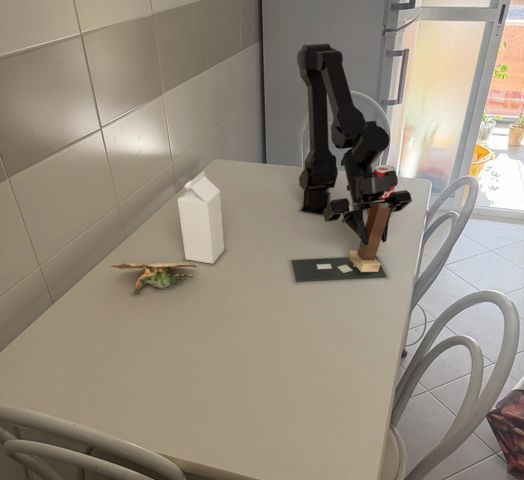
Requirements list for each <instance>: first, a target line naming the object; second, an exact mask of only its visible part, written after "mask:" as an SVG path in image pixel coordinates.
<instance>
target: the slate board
mask: <svg viewBox="0 0 524 480" xmlns="http://www.w3.org/2000/svg"><path fill="white" fill-rule="evenodd" d="M375 259H376V260H377V261H378V262H379V263H380V264H381V262H380V261H379V259H378V257H377V255H376V257H375ZM291 264H292V268H293V272H294V276H295V282H296V283H299V282H300V283H301V282H318V281H320V282H321V281H339V280H342V281H343V280H360V279H379V278H381V279H382V278H387V274H386V273H385V270H384V269H383V266H382V264H381V265H380V268H379V271H378V272H361V271H360V270H359V269H358V268H357V267H356V266H355V265H354V264H353V263H352V262H351V261H350V259H349V256H348V257H345V256H344V257H327V258H325V257H324V258H308V259H307V258H306V259H305V258H304V259H303V258H302V259H292V260H291Z"/></svg>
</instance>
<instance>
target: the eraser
mask: <svg viewBox="0 0 524 480" xmlns="http://www.w3.org/2000/svg"><path fill="white" fill-rule="evenodd" d="M390 210H391V209H390V208H389V207H388V206H387V205H385V204H384V203H372V205H371V208H370V212H369V211H368V215H367V219H366V222H365V228H366V232H367V235H368V241H369V244H368V245H365V244H364V243H363V242H362V240H361V239H360V242H359V246H358V249H357V250H350V253H349V256H348V257H349V259H350V261H351V262H352V263H353V264H354V265H355V266H356V267H357V268H358V269H359V270H360V271H361V272H378V271H379V268H380V265H381V266H382V263H381V262H380V261H379V262H380V263H379V262H378V261H377V260H376V259H375V257H376V256H377V253H378V251H379V247H380V244H381V242H382V240H381V238H382V235H383V232H384V228H385V225H386V222H387V219H388V216H389V213H390Z"/></svg>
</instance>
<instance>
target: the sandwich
mask: <svg viewBox="0 0 524 480" xmlns="http://www.w3.org/2000/svg"><path fill="white" fill-rule="evenodd" d="M110 267H111V268H116V269H123V270H124V269H143V271H144V273H143V274H142V275H140V276H139V277H138V278H137V280H136V282H135V285H134V294H135V295H138V294H139V292H140V289H142V288H143V287H144V286H145V285H147V284H149V285H151V286H152V287H154V288H157V289H160V290H165V289H171V288H173V287H174V286H176V285H178V284H179V283H180V282H181V281H184V280H185V279H187V278H188V277H189V278H193V277H194V275H192V274H188V275H185V274H184V273H182V274H181V275H180V274H171V269H174V268H175V269H176V268H186V267H188V268H198V266H197V265H196V264H193V263H185V262H184V263H174V262H160V263H159V262H158V263H149V264H144V263H137V262H125V263H122V264H114V265H110Z"/></svg>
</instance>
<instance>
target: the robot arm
mask: <svg viewBox="0 0 524 480" xmlns="http://www.w3.org/2000/svg"><path fill="white" fill-rule="evenodd" d="M343 57H344V56H343V53H342V51H341V50H339V49H338V48H333V47H331V45H330V44H329V43H327V42H326V43H313V44H303V45H302V46H301V49H300V50H298V52H297V55H296V59H297V60H296V61H297V66H298V68H299V75H300V78H301V79H302V82H304V84H305V86H306V90H307V106H308V107H307V108H308V110H307V111H308V129H309V132H308V133H309V151H308V154H307V156H306V157H305V160H304V168H303V170H302V171H301V173H300V175H299V177H298V185H299V187H300V188H301V189H302V190H303V206H302V207H301V209H300V211H301V212H306V213H312V214H319V215H323V218H324V219H323V220H324V222H326V223H327V222H328V223H329V222H334V221H338V220H339V219H340V217H341V214H342V216H343V219H341V223H342V224H346V225H347V226H348V227H349V228H350V229H351V230H352V231H353V232H354V233H355V235H356V236H357V237H358V238H359V239H360V241H361V240H362V242H363V243H364V244H365V245H368V244H369V241H368V235H367V232H366V228H365V225H366V223H365V221H364V212H365V211H368V210H370V208H371V205H372V203H384V204H385V205H387V206H388V207H389V208H390V209H391V210H390V213H389V216H388V219H387V222H386V225H385V228H384V232H383V235H382V238H381V242H382V244H383V243H384V244H385V243H386V242H387V240H388V231H389V224H390V223H389V222H390V218H391V214H393V213H397V212H401V211H402V210H404V209H405V208H406V207H407V206H409V205H410V204H411V203H412V202H413V198H412V194H411V193H410V191H408V190H407V189H405V190H397V191H394V192H392V193H391V194H390V195H389V196H388V197H387V198H384V199H379V197H380V196H383V195H384V191H386V192H389V191H391V187H393V186H395V187H397V186H398V184H399V181H398V180H399V179H398V175H397V172H396V169H395V170H394V171H388V172H384V176H380V177H378V174H377V173H376V172H375V173H373V171H374V169H373V166H372V165H373V164H374V163H375V162H376V161H377V160H378V159H379V157H381V156H382V154H383V153H384V152H385V151H386V149H387V148H388V147H389V145H390V135H389V133H387V131H386V130H385V129H384V128H383V127H381V126H379V125H377V120H366V119H365V116H364V113H363V112H362V111H361V110H360V109H359V108H357V107H356V106H355V104H354V101H353V98H352V94H351V89H350V87H349V86H350V85H349V82H348V80H347V76H346V72H345V68H344V65H343V61H344V60H343V59H344V58H343ZM328 102H329V106H330V109H331V113H332V117H333V119H332V122H331V126H330V137H331V139H330V140H331V141H332V144H333V145H334V148H336V149H338V150H344V149H348V150H347V151H346V152H344V153H343V156H342V158H341V160H340V167H344V171H345V176H346V180H347V185H346V191H347V192H349V193H350V197H351V201H352V202H350V201H349V199H348V198H346V197H344V198H337V199H331V195H332V193H331V192H330V189H334V188H335V186H336V183H337V179H338V175H339V171H338V166H337V156H336V155H335V154H333V153H332V151H331V150H330V146H329V144H330V142H329V115H328V113H329V111H328V110H329V109H328Z"/></svg>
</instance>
